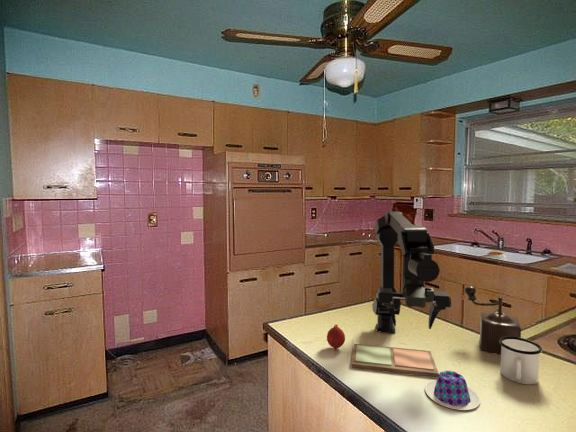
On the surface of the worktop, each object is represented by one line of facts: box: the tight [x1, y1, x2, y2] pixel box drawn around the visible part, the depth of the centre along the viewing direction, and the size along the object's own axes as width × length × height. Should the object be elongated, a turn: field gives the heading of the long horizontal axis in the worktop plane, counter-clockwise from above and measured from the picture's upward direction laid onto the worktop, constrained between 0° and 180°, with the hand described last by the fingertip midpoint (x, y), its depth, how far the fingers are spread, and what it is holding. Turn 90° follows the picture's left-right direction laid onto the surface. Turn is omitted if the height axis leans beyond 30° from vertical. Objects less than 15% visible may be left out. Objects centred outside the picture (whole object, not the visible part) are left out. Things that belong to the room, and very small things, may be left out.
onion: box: [326, 323, 346, 350], centre depth 105 cm, size 6×6×8 cm
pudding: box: [424, 370, 481, 411], centre depth 81 cm, size 12×12×5 cm
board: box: [351, 343, 440, 379], centre depth 97 cm, size 13×23×2 cm, turn 76°
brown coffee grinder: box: [463, 285, 522, 356], centre depth 106 cm, size 16×11×18 cm
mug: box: [499, 336, 543, 385], centre depth 87 cm, size 12×10×9 cm
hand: (412, 327), depth 92 cm, fingers open, 9 cm apart
